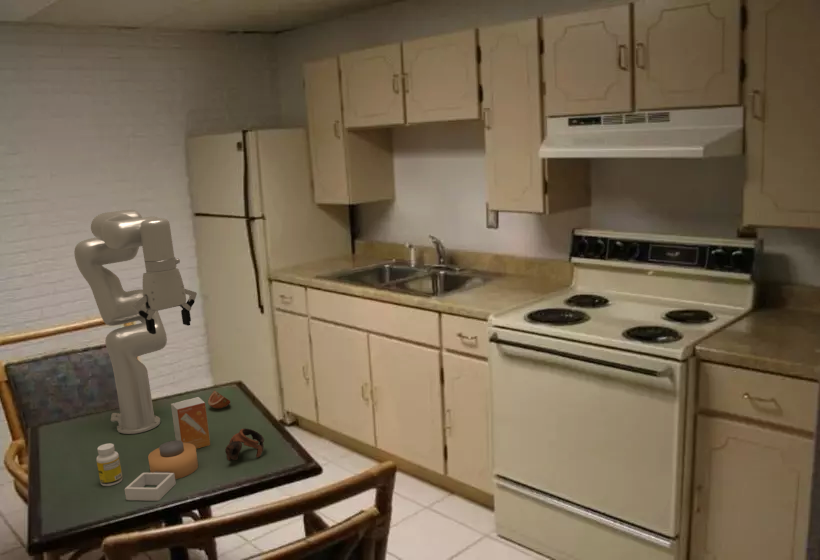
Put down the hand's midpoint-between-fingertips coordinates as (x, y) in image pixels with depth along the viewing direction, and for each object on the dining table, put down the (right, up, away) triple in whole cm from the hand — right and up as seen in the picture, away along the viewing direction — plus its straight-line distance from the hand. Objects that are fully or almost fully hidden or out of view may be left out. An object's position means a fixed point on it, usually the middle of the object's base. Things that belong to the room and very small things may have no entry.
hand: (169, 329), depth 196 cm
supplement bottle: (-13, -39, -6) cm, 42 cm away
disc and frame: (+1, -38, -8) cm, 39 cm away
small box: (+3, -34, +13) cm, 37 cm away
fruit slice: (+3, -29, +42) cm, 51 cm away
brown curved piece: (+19, -35, +3) cm, 40 cm away
